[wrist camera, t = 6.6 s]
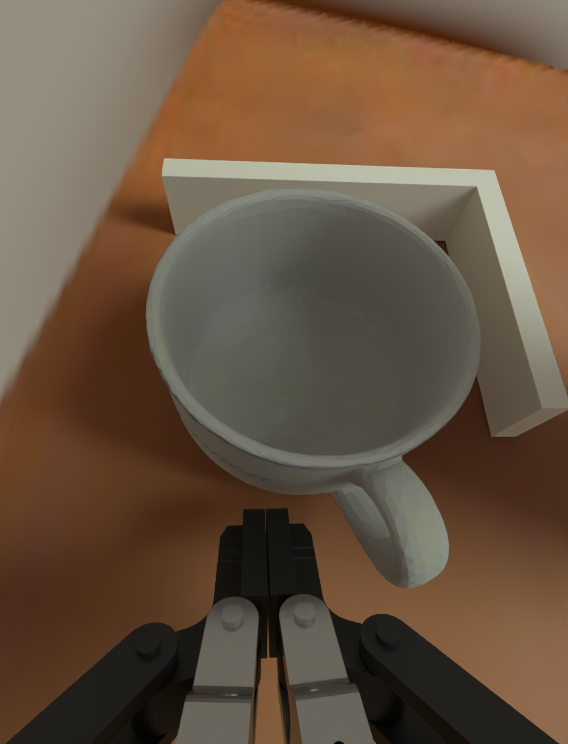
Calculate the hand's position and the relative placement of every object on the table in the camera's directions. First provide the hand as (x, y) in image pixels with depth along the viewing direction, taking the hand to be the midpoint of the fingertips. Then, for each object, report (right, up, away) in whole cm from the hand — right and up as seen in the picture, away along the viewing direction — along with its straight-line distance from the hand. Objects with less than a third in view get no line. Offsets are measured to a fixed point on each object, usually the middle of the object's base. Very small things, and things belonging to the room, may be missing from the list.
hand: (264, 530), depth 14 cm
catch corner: (+3, +8, +8) cm, 12 cm away
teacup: (+2, +3, +6) cm, 7 cm away
